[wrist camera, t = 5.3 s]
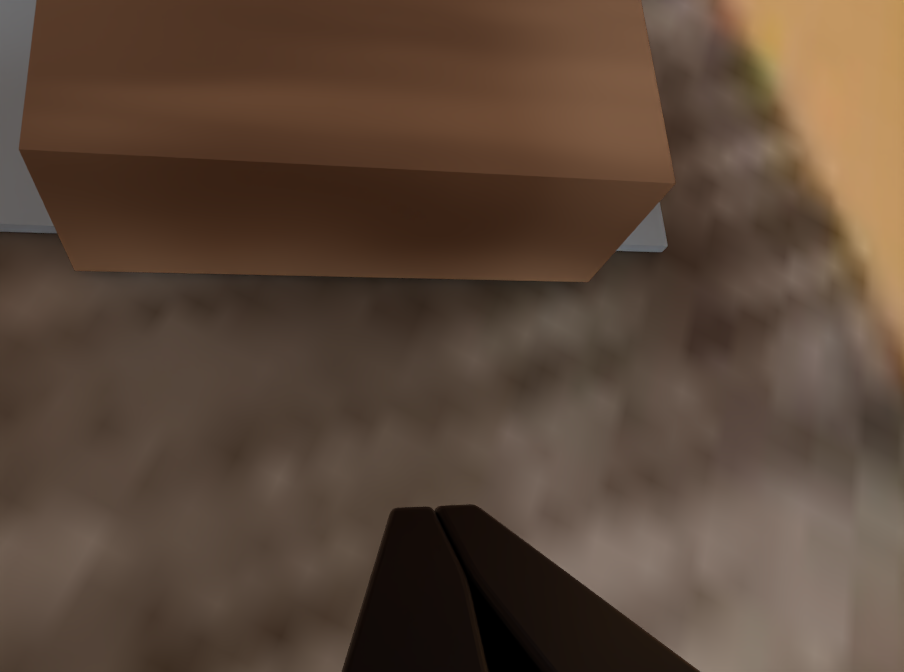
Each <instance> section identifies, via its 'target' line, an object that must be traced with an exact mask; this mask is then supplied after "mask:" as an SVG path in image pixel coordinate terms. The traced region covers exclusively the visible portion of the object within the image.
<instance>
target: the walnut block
mask: <svg viewBox="0 0 904 672" xmlns="http://www.w3.org/2000/svg"><path fill="white" fill-rule="evenodd" d="M19 151H20V153H21V156H22V158H23V160H24V162H25V164H26V166H27V169H28V171H29V173H30V175H31V177H32V179H33V182H34V184H35V186H36V188H37V190H38V192H39V195H40V197H41V199H42V201H43V203H44V205H45V208H46V210H47V212H48V214H49V216H50V218H51V221H52V223H53V225H54V227H55V229H56V232H57V234H58V236H59V238H60V240H61V242H62V245H63V247H64V249H65V251H66V253H67V255H68V258H69V260H70V262H71V264H72V266H73V268H74V271H107V272H153V273H198V274H244V275H289V276H334V277H380V278H425V279H471V280H516V281H561V282H589V281H590V280H591V278H592V277H593V276H594V275H595V274H596V273H597V272H598V271H599V269H600V268H601V267H602V266H603V265H604V264H605V263H606V262H607V260H608V259H609V258H610V257H611V256H612V255H613V254H614V253H615V251H616V250H617V249H618V248H619V247H620V246H621V245H622V244H623V242H624V241H625V240H626V239H627V238H628V237H629V236H630V234H631V233H632V232H633V231H634V230H635V229H636V228H637V227H638V225H639V224H640V223H641V222H642V221H643V220H644V219H645V218H646V216H647V215H648V214H649V213H650V212H651V211H652V210H653V209H654V207H655V206H656V205H657V204H658V203H659V202H660V201H661V200H662V198H663V197H664V196H665V195H666V194H667V193H668V192H669V191H670V189H671V188H672V187H673V186H674V185H675V184H676V182H675V177H674V172H673V166H672V161H671V156H670V150H669V145H668V140H667V135H666V129H665V124H664V119H663V114H662V108H661V103H660V98H659V92H658V87H657V82H656V77H655V71H654V66H653V61H652V56H651V50H650V45H649V40H648V35H647V29H646V24H645V19H644V13H643V8H642V3H641V0H36V8H35V16H34V25H33V33H32V41H31V50H30V58H29V66H28V75H27V83H26V92H25V100H24V108H23V117H22V125H21V133H20V142H19Z"/></svg>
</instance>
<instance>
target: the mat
mask: <svg viewBox="0 0 904 672" xmlns="http://www.w3.org/2000/svg"><path fill="white" fill-rule="evenodd" d="M35 8H36V0H0V232H31V233H57V232H56V229H55V227H54V225H53V223H52V221H51V218H50V216H49V214H48V212H47V210H46V208H45V205H44V203H43V201H42V199H41V197H40V195H39V192H38V190H37V188H36V186H35V184H34V182H33V179H32V177H31V175H30V173H29V171H28V169H27V166H26V164H25V162H24V160H23V158H22V156H21V153H20V151H19V142H20V133H21V125H22V117H23V108H24V100H25V92H26V83H27V75H28V66H29V58H30V50H31V41H32V33H33V25H34V16H35ZM667 246H668V245H667V239H666V234H665V228H664V222H663V217H662V211H661V206H660V202H659V203H658V204H657V205H656V206H655V207H654V209H653V210H652V211H651V212H650V213H649V214H648V215H647V216H646V218H645V219H644V220H643V221H642V222H641V223H640V224H639V225H638V227H637V228H636V229H635V230H634V231H633V232H632V233H631V234H630V236H629V237H628V238H627V239H626V240H625V241H624V242H623V244H622V245H621V246H620V247H619V248H618V249H617V250H616V251H639V252H662V251H663V250H664V249H665V248H666V247H667Z"/></svg>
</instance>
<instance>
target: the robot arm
mask: <svg viewBox="0 0 904 672" xmlns="http://www.w3.org/2000/svg"><path fill="white" fill-rule="evenodd" d="M342 672H700V671H699V670H697V669H696V668H695V667H693V666H692V665H691V664H689V663H688V662H686V661H685V660H684V659H682V658H681V657H680V656H678V655H677V654H676V653H674V652H673V651H672V650H670V649H669V648H668V647H666V646H665V645H664V644H662V643H661V642H660V641H658V640H657V639H656V638H654V637H653V636H652V635H650V634H649V633H648V632H646V631H645V630H643V629H642V628H641V627H639V626H638V625H637V624H635V623H634V622H633V621H631V620H630V619H629V618H627V617H626V616H625V615H623V614H622V613H621V612H619V611H618V610H617V609H615V608H614V607H613V606H611V605H610V604H609V603H607V602H606V601H605V600H603V599H602V598H600V597H599V596H598V595H596V594H595V593H594V592H592V591H591V590H590V589H588V588H587V587H586V586H584V585H583V584H582V583H580V582H579V581H578V580H576V579H575V578H574V577H572V576H571V575H570V574H568V573H567V572H566V571H564V570H563V569H562V568H560V567H559V566H557V565H556V564H555V563H553V562H552V561H551V560H549V559H548V558H547V557H545V556H544V555H543V554H541V553H540V552H539V551H537V550H536V549H535V548H533V547H532V546H531V545H529V544H528V543H527V542H525V541H524V540H523V539H521V538H520V537H519V536H517V535H516V534H514V533H513V532H512V531H510V530H509V529H508V528H506V527H505V526H504V525H502V524H501V523H500V522H498V521H497V520H496V519H494V518H493V517H492V516H490V515H489V514H488V513H486V512H485V511H484V510H482V509H481V508H479V507H478V506H476V505H471V504H469V505H449V506H439V507H437V508H436V509H435V511H434V510H433V509H432V508H430V507H405V508H395V509H393V510H392V511H391V512H390V515H389V518H388V521H387V524H386V528H385V531H384V534H383V538H382V541H381V544H380V548H379V551H378V554H377V557H376V561H375V564H374V567H373V571H372V574H371V577H370V580H369V584H368V587H367V590H366V594H365V597H364V600H363V603H362V607H361V610H360V613H359V617H358V620H357V623H356V626H355V630H354V633H353V636H352V640H351V643H350V646H349V649H348V653H347V656H346V659H345V663H344V666H343V669H342Z"/></svg>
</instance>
